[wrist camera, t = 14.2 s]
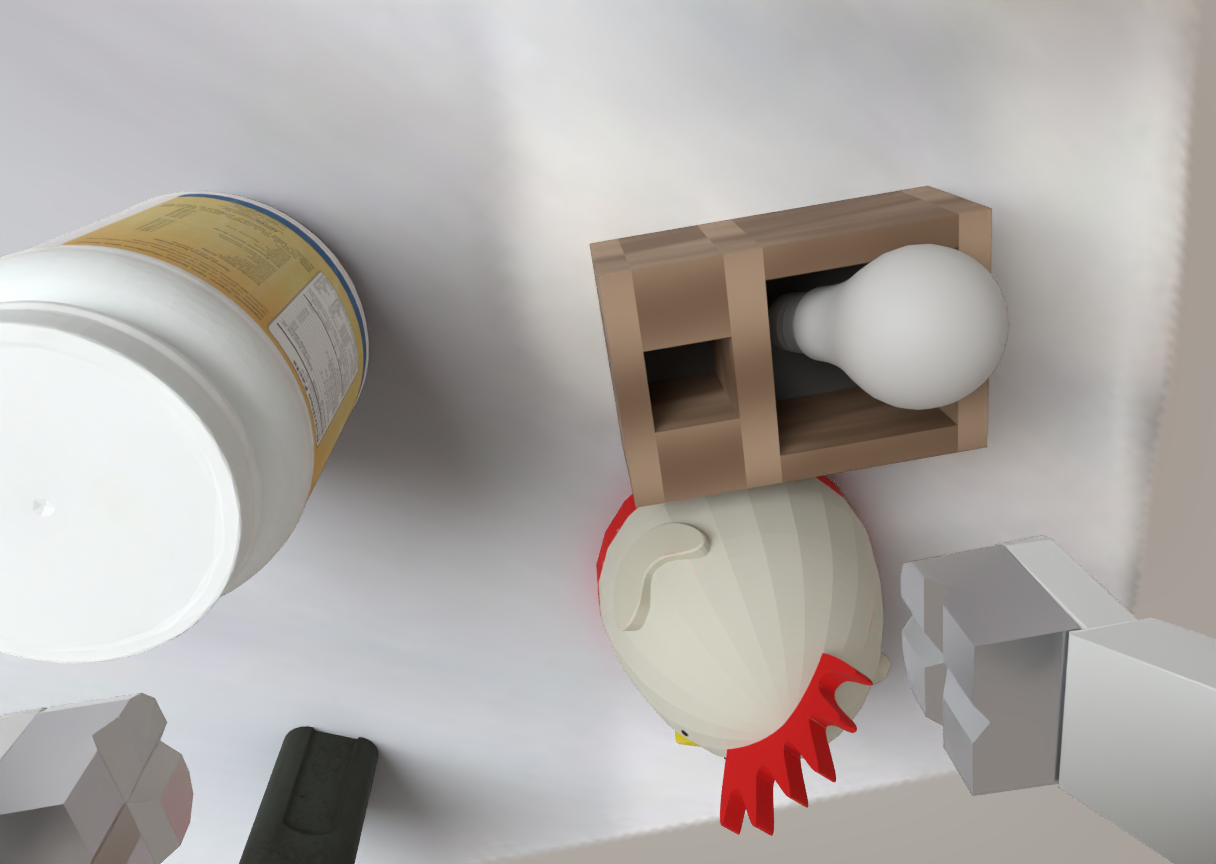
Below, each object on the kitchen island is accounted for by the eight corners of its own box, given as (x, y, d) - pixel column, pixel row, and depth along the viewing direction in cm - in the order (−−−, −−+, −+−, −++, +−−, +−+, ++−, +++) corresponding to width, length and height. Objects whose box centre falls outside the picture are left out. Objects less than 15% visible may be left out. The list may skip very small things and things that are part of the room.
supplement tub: (185, 489, 42) (-19, 746, 27) (28, 249, 37) (-331, 392, 22) (421, 398, 41) (353, 609, 26) (292, 139, 36) (112, 208, 21)
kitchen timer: (542, 596, 46) (545, 829, 32) (714, 395, 42) (801, 562, 29) (742, 716, 50) (820, 968, 37) (915, 543, 47) (1075, 751, 33)
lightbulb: (845, 322, 42) (1066, 331, 33) (771, 417, 41) (980, 454, 31) (781, 222, 39) (1002, 201, 30) (698, 320, 38) (904, 329, 29)
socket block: (589, 243, 39) (598, 276, 34) (927, 185, 39) (991, 208, 34) (623, 449, 43) (635, 508, 38) (929, 396, 43) (987, 446, 38)
